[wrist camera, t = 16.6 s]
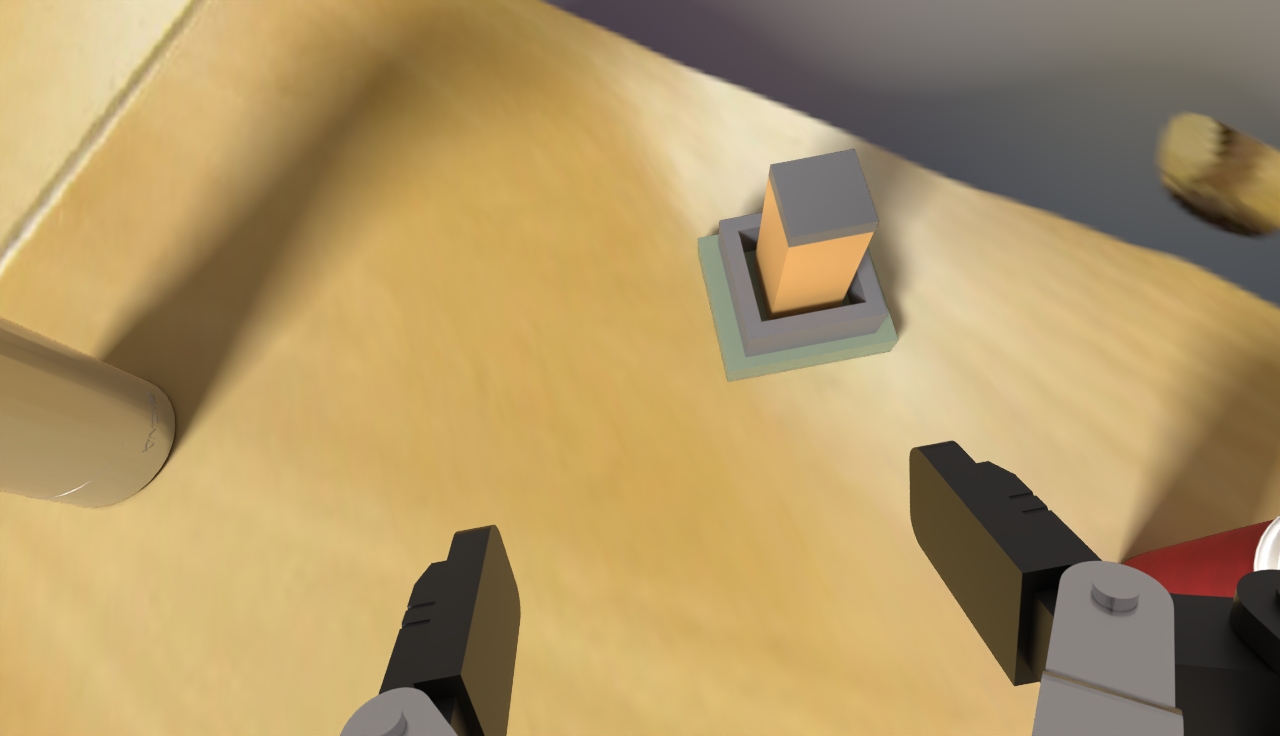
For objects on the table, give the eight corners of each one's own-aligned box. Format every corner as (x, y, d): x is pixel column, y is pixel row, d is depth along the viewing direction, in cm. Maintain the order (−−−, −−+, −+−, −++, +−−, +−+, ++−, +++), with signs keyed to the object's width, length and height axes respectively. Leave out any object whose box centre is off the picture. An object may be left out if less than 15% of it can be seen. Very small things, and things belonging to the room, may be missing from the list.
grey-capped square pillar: (769, 324, 46) (791, 237, 35) (753, 264, 47) (770, 164, 37) (837, 311, 45) (878, 221, 35) (819, 252, 47) (854, 148, 37)
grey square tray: (727, 381, 46) (731, 355, 42) (697, 252, 50) (698, 214, 45) (890, 351, 46) (912, 321, 42) (849, 223, 50) (865, 182, 45)
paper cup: (1081, 646, 40) (1272, 659, 26) (1100, 517, 42) (1285, 469, 29) (1231, 699, 38) (1513, 739, 25) (1242, 562, 40) (1505, 533, 27)
